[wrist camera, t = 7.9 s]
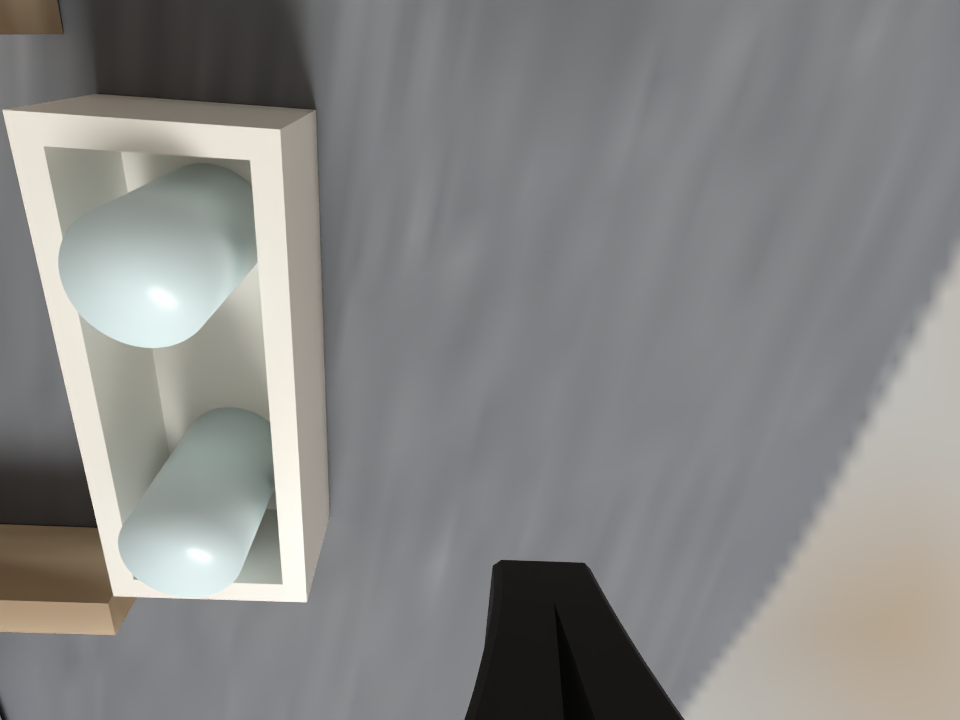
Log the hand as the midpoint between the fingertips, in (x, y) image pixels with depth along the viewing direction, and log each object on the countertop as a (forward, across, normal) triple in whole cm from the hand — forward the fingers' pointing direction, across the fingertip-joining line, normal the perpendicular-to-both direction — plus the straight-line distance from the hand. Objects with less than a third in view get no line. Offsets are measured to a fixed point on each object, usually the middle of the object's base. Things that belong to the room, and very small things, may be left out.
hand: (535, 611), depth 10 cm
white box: (+10, +7, 0) cm, 12 cm away
